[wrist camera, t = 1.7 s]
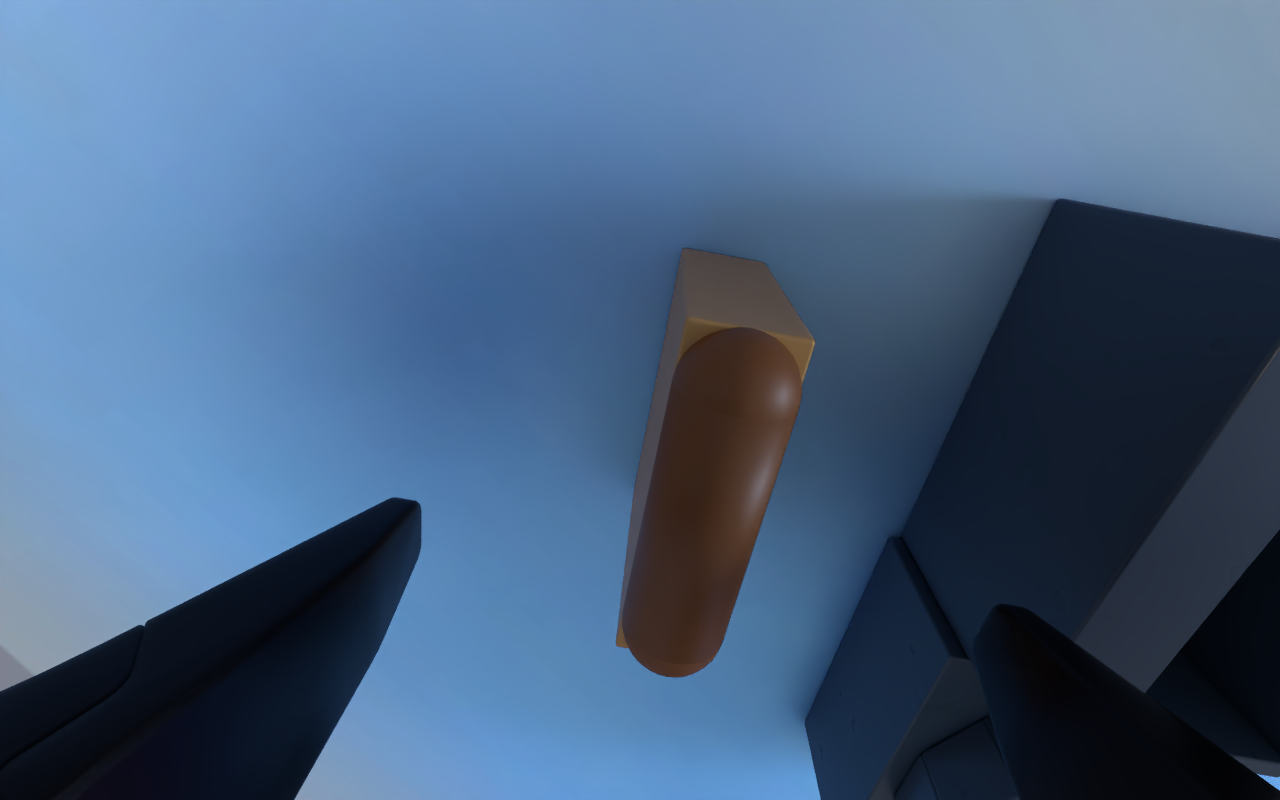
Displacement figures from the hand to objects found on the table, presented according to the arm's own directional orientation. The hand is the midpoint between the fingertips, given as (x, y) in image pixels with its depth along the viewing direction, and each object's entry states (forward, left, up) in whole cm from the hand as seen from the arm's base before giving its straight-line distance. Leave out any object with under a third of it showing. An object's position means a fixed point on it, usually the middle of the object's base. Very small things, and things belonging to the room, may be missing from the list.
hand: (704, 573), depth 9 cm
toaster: (+1, -10, -7) cm, 13 cm away
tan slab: (0, 0, -7) cm, 7 cm away
